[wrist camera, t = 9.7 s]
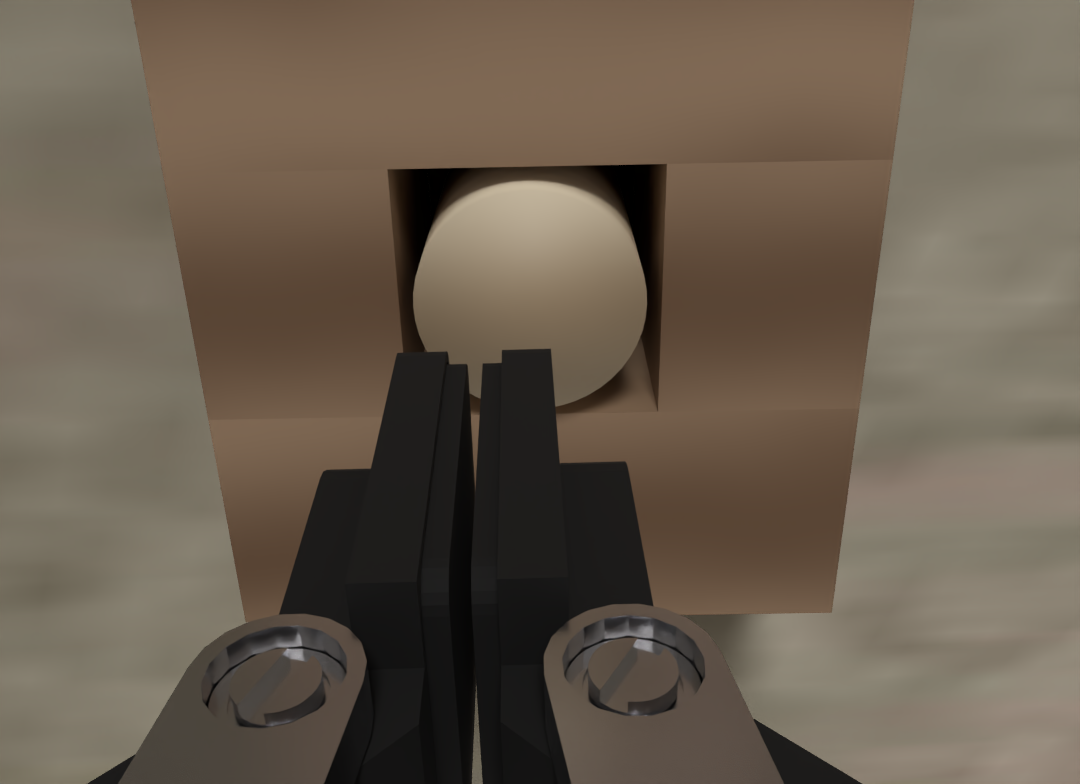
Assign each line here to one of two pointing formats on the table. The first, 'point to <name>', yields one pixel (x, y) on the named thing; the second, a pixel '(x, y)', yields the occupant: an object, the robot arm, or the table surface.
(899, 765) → the table surface
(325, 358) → the press block
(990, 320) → the table surface
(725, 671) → the robot arm
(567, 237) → the peg
